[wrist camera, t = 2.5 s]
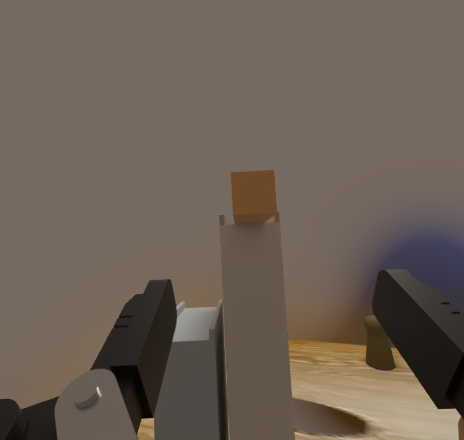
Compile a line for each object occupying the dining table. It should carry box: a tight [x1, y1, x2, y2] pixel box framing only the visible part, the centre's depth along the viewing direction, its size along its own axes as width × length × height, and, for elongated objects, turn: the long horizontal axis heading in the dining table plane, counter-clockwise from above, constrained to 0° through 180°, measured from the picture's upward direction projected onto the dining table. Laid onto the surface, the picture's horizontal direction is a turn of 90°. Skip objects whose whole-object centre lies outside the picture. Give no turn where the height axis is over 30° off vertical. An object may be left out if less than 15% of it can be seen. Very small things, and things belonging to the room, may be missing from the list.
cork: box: [364, 315, 395, 370], centre depth 61 cm, size 6×6×11 cm
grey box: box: [154, 300, 229, 440], centre depth 30 cm, size 13×6×22 cm, turn 179°
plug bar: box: [231, 170, 277, 224], centre depth 28 cm, size 20×3×3 cm, turn 179°
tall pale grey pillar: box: [219, 212, 295, 440], centre depth 30 cm, size 13×6×33 cm, turn 179°
